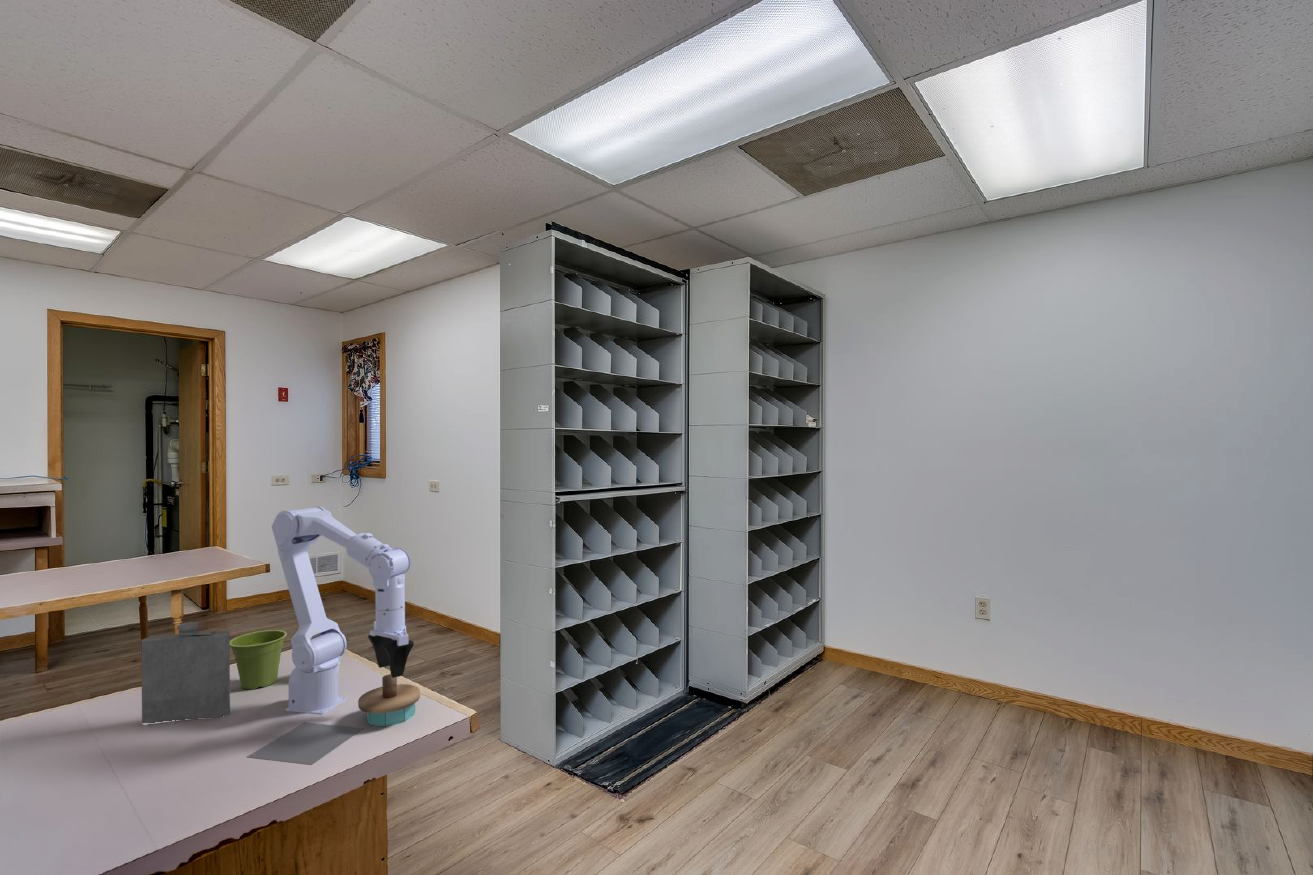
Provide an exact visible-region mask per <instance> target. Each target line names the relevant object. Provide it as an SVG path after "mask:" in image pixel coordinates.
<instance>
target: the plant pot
mask: <svg viewBox="0 0 1313 875" xmlns="http://www.w3.org/2000/svg"><path fill="white" fill-rule="evenodd" d="M287 635H288V633H287V631H285V630H280V629H267V630H259V631H254V632H248V633H245V634H242V635H239V636H236V637H234V638H232V639H231V640H230V648H231V650H232V654H233V655H234V658H235V662H236V667H237V672H238V676H239V682H240V686H241V688H243V689H246V690H255V689H257V688H259V687H263V688H265V687H268V686H271V685H272V684H274V683H275V682H276V681H277V679H278V675H279V667H280V662H281V655H282V649H283V646H284V642H285V641H284V640H285V638H286V637H287Z"/></svg>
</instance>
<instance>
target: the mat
mask: <svg viewBox="0 0 1313 875" xmlns="http://www.w3.org/2000/svg"><path fill="white" fill-rule="evenodd" d="M362 730H364V727H356V726H345V725H336V724H335V725H334V724H327V723H326V724H325V723H315V722H302V723H301V724H299V725H297V726H296V727H294V728H292V729H290V730H289V731H287V732H285V733H284V734H282V735H280V736H279V737H277V738H275V739H274V740H271V742H268V743H267V744H266V745H264V746H262V747H260V748H259V749H257V750H256V751H254V752H252V753H251V754H249V755H247V756H246V758H250V759H257V760H267V761H275V762H283V763H291V764H301V765H308V766H309V765H310V766H313V765H314V764H315V763H317V762H318V761H320V760H321V759H323V758H324V757H325V756H327V755H328V754H330V753H331V752H332V751H334V750H335V749H337V748H339V747H340V746H341V745H342V744H344V743H345V742H347V741H348V740H349V739H351V738H353V737H354V736H355V735H357V734H358V733H360V732H361V731H362Z"/></svg>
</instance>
